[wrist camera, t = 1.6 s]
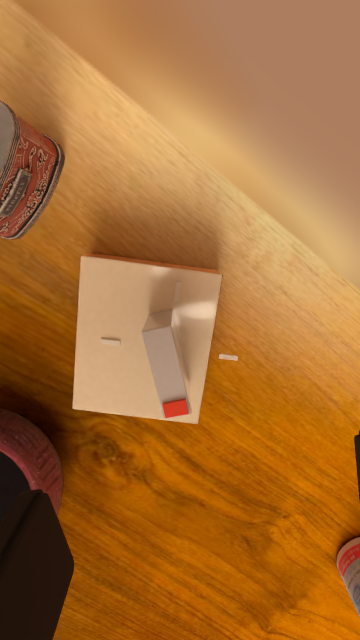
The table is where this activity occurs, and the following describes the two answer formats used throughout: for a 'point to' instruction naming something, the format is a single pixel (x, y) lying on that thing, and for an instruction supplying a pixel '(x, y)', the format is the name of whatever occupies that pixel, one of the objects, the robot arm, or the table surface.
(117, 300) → the switch base
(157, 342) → the grey red-tipped block
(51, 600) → the robot arm
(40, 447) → the bowl
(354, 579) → the pill bottle
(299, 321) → the table surface
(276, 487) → the table surface
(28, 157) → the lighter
